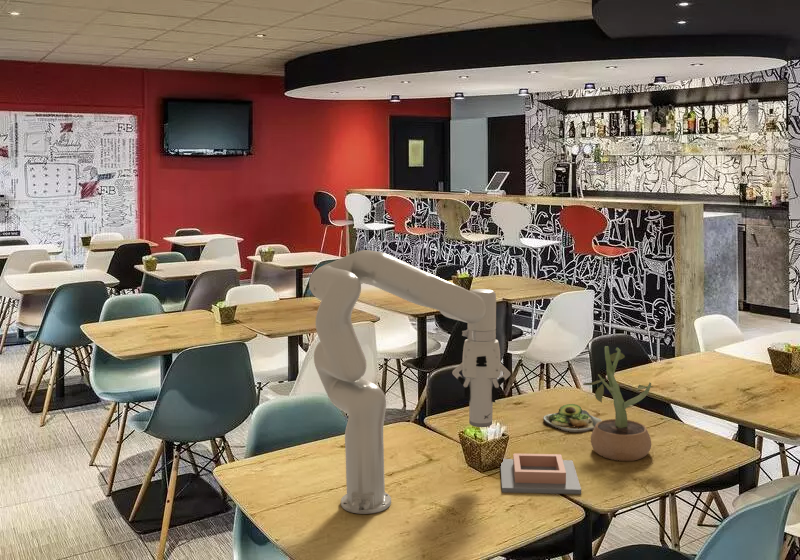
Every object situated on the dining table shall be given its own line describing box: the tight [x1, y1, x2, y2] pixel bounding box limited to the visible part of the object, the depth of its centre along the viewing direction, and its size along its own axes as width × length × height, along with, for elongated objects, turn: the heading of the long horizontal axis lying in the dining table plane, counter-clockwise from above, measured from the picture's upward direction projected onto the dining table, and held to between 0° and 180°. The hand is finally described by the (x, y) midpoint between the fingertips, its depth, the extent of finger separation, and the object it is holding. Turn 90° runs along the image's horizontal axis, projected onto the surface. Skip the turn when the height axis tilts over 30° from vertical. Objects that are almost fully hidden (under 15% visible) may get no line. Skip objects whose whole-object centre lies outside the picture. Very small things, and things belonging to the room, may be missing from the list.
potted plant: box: [582, 345, 654, 462], centre depth 228 cm, size 22×18×30 cm
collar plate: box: [500, 453, 582, 495], centre depth 210 cm, size 20×20×4 cm
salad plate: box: [542, 403, 603, 433], centre depth 252 cm, size 19×18×5 cm
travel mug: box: [468, 356, 494, 428], centre depth 211 cm, size 6×7×20 cm
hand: (481, 400), depth 211 cm, fingers closed on travel mug, 6 cm apart
